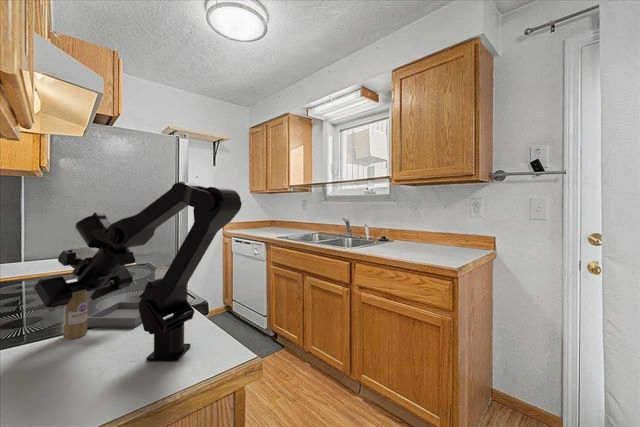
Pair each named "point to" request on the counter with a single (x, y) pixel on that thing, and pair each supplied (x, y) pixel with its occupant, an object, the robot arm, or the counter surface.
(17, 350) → the counter surface
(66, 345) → the counter surface
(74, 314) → the sprinkles bottle
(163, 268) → the can
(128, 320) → the tray
